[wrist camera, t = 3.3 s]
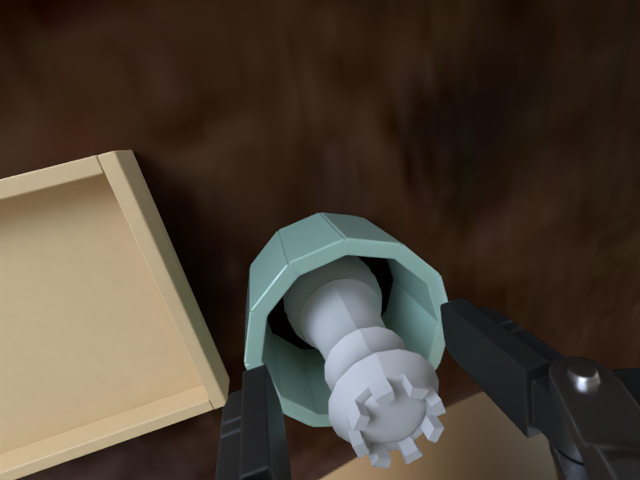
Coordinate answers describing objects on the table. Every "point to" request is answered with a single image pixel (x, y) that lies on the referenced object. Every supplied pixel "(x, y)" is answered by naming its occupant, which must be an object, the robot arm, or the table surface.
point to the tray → (93, 317)
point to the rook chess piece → (365, 362)
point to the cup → (315, 251)
